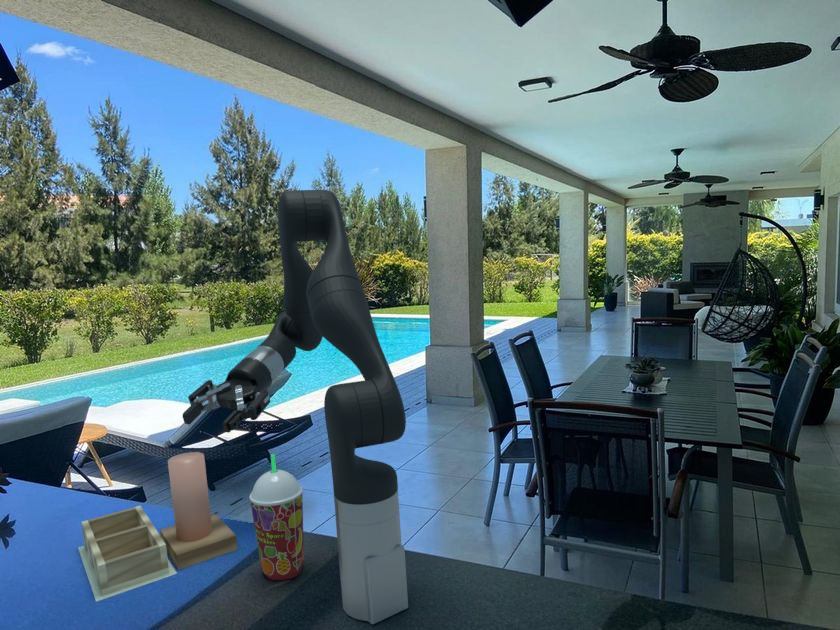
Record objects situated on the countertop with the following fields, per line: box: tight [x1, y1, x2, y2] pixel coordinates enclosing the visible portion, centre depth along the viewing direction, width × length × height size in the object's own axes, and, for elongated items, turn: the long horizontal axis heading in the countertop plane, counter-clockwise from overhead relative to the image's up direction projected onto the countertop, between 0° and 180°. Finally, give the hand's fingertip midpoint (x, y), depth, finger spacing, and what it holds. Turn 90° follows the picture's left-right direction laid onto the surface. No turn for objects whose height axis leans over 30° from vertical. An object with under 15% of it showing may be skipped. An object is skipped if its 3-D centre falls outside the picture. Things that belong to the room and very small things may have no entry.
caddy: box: [81, 505, 169, 596], centre depth 107 cm, size 20×10×5 cm, turn 35°
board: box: [159, 512, 238, 571], centre depth 110 cm, size 12×10×3 cm
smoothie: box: [248, 453, 305, 582], centre depth 99 cm, size 8×8×20 cm
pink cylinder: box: [167, 451, 212, 542], centre depth 109 cm, size 6×6×14 cm
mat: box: [78, 545, 178, 603], centre depth 107 cm, size 22×12×1 cm, turn 35°
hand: (205, 424), depth 108 cm, fingers open, 8 cm apart
